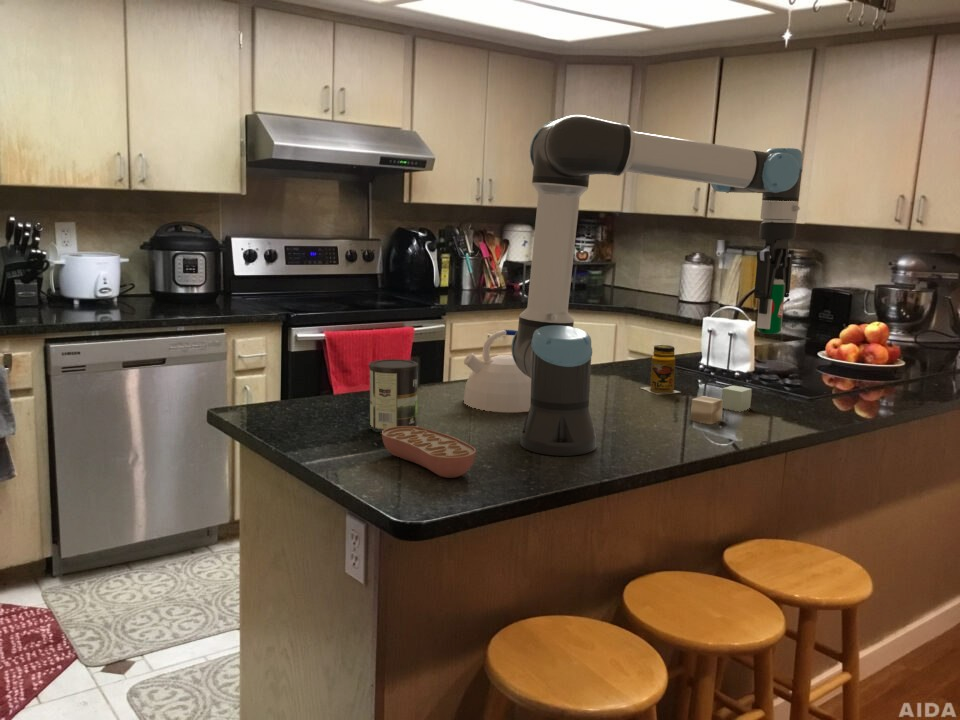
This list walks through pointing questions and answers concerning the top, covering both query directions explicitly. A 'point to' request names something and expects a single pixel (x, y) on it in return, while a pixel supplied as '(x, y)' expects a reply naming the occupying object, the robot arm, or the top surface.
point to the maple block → (706, 410)
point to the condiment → (662, 370)
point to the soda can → (776, 307)
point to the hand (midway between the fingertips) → (769, 326)
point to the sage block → (736, 398)
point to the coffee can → (393, 393)
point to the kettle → (497, 381)
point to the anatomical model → (430, 449)
